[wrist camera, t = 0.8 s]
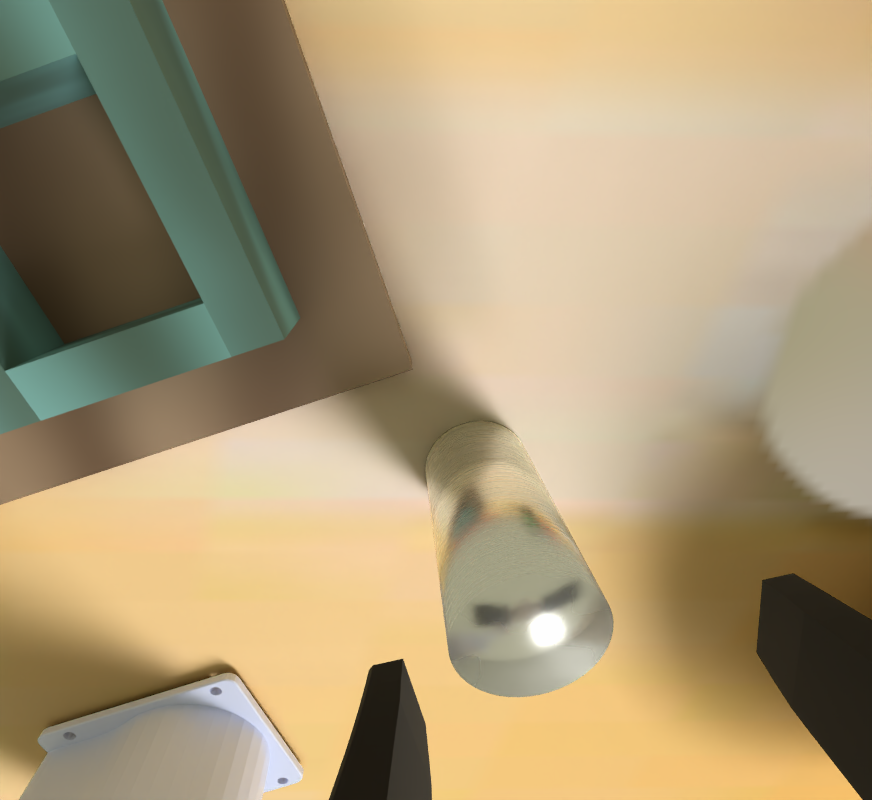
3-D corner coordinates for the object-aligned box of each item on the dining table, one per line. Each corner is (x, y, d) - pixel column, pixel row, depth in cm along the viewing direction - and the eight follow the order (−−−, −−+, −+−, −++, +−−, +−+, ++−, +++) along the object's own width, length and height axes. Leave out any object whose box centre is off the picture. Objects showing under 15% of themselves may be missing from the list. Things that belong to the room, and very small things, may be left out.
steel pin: (442, 522, 20) (474, 714, 12) (411, 440, 18) (426, 604, 11) (536, 492, 20) (624, 669, 12) (513, 407, 18) (598, 551, 11)
